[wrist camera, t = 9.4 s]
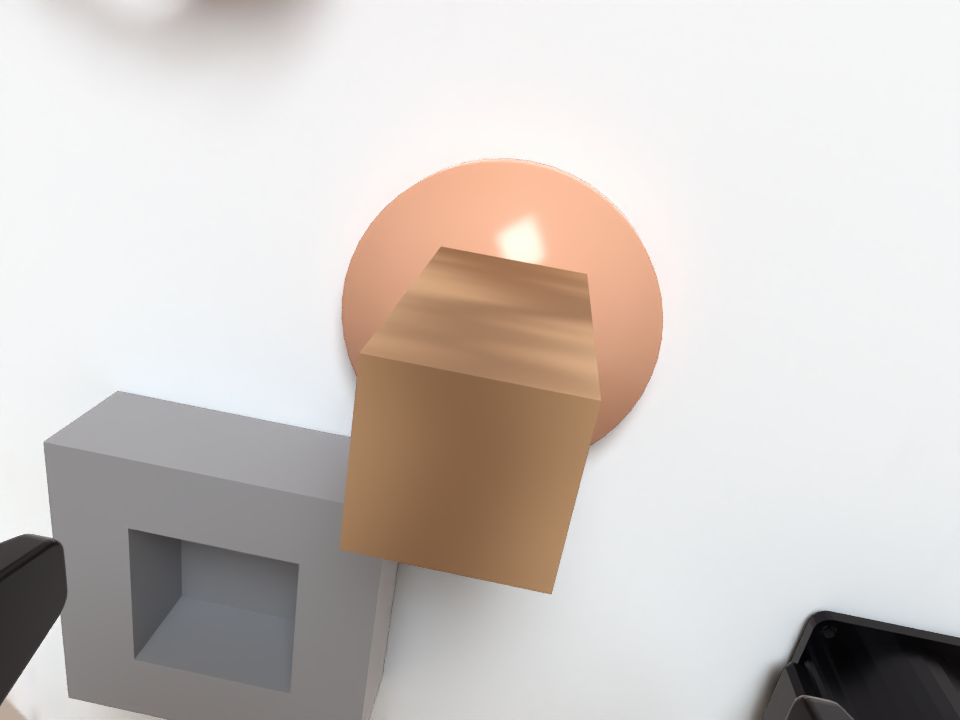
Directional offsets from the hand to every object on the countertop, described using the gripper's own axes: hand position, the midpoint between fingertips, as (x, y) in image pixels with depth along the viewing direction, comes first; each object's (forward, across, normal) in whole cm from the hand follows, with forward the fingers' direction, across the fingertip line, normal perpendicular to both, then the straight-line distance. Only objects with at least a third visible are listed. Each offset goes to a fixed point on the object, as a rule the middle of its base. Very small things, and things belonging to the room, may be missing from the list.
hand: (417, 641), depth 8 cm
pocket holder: (+13, +7, +10) cm, 18 cm away
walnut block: (+12, 0, 0) cm, 12 cm away
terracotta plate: (+13, 0, 0) cm, 13 cm away
